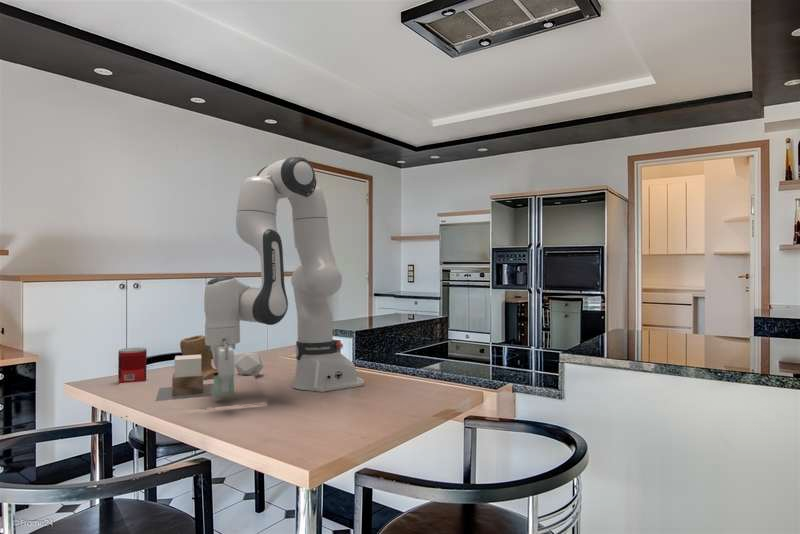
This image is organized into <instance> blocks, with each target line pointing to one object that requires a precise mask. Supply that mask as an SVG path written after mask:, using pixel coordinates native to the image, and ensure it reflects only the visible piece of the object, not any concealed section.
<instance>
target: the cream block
mask: <svg viewBox="0 0 800 534" xmlns="http://www.w3.org/2000/svg"><path fill="white" fill-rule="evenodd" d="M173 374H174V378H177V377H190V376H201V355H185V356H183V355H175V357H174V372H173Z"/></svg>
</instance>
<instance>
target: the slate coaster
mask: <svg viewBox="0 0 800 534" xmlns="http://www.w3.org/2000/svg"><path fill="white" fill-rule="evenodd" d="M158 389H159V390H158V391H157V394H156V396H155V400H154V401H155V402H162V401H171V400H182V399H183V400H185V399H194V398H203V397H204V398H205V397H215V396H214V383H203V393H201V394H190V395H179V396H172V386H170V387H169V386H167V387H159V388H158Z"/></svg>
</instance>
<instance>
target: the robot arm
mask: <svg viewBox="0 0 800 534" xmlns="http://www.w3.org/2000/svg"><path fill="white" fill-rule="evenodd" d="M279 199H287V200H288V201H289V204H290V206H291V211H292V212H291V214H292V227H293V228H292V229H293V230H292V231H293V240H294V241H293V242H294V247H295V249H296V250H297V253H298V258H299V261H300V264H301V265H299V266H298V267H297V268H295V269H294V271H293V273H292V275H291V279H290V282H291V285H292V287H293V288H292V289H293V295H294V296H293V297H294V303H295V307H296V315H297V318H296V319H297V341H296V342H295V358H296V359H295V360H296V366H295V374H294V377H293V378H294V379H293V381H292V384H291V386H292V388H294V389H297V390H301V391H312V392H321V393H322V392H330V391H336V390H342V389H349V388H357V387H362V386H364V384H365V381H364V379H363V378H362V377H360V376H358V374H357V369H356V366H355V364H354V362H352V361H351V360H350V359H349V358H347V357H346V356H345V355H344V354H342V353H341V352H339V351H340V350H341V349H343V347H344V344H343V343H342V342H339V341H338V342H337V341H336V340H334V338H333V337H334V331H333V330H334V329H333V327H334V325H333V324H334V323H333V322H334V320H333V318H334V317H333V313H332V311H331V307H330V303H329V298H328V297H331V296H333V295H335V294H336V293H337V292H338V291H339V290H340V288H341V286H342V284H343V283H342V282H343V277H342V274H341V271H340V270H339V269H338V266H337V264H336V260H335V257H334V253H333V249H332V246H331V240H330V230H329V218H328V211H327V210H328V209H327V204H326V199H325V195H324V193H323V190H322V188H320V186H318V185H317V178H316V173H315V170H314V168H313V165H312V164H311V162H310V161H309V160H308V159H306V158H305V157H301V156H291V157H288V158H284V159H281V160H280V159H279V160H276V161H275V162H273V163H271V164H270V165H266V166H264V167H262V169H260V170H259V171H258V172H257V174H256V175H253V176H249V177H246V179H245V180H243V182H242V185H241V186H240V191H239V195H238V200H237V206H236V215H235V229H236V233H237V236H238V237H240V239H241V240H242V241H243V242H244V243H246V244H248V245H250V246H251V247H253V248H254V249H255V250H256V251H257V252H258V254H259V256H260V270H261V271H260V272H261V273H260V274H261V275H260V276H261V285H260V287H251V286H249V285H247V284H244V283H242V282H240V281H239V280H238V279H237V278H236V277H235V276H230V275H228V276H221V277H215V278H212V279H210V280H209V281H208V282H206V285H205V290H204V296H203V297H204V298H203V299H204V300H203V301H204V302H203V303H204V307H203V308H204V309H203V312H204V314H205V318H206V319H205V324H204V336H205V344H206V345H208V346H210V347H211V351H212V360H213V361H212V362H213V365H214V369H216V370H217V372H218V375H219V377H220V378H221V389H222V391H223V392H226V391H229V381H230V378H231V377H234V376H235V372H236V371H235V356H234V355H235V354H234V350H235V349H236V344H240V343H241V329H240V328H241V324H240V322H241V321H242V322H250V323H259V324H263V325H267V326H274V325H276V324H278V323H280V322H281V321H282V320H283V319H284V317H285V316H286V315H287V312H288V308H289V307H288V306H289V302H288V296H287V291H286V287H285V273H284V271H285V270H284V269H285V268H284V253H283V251H284V250H283V243H282V242H283V241H282V239H281V235H280V234H279V233H278V229H277V205H278V203H279V202H278V201H279Z"/></svg>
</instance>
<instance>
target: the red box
mask: <svg viewBox="0 0 800 534" xmlns="http://www.w3.org/2000/svg"><path fill="white" fill-rule="evenodd" d="M147 353H148V352H147V348H146V347H140V346H138V347H136V346H135V347H127V348H121V349H118V363H117V365H118V369H117V370H118V373H117V375H118V381H117V382H118V385H120V384H127V383H128V384H129V383H141V382H142V383H144V382H146V381H147V360H148V359H147V357H148V356H147V355H148V354H147Z"/></svg>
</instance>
